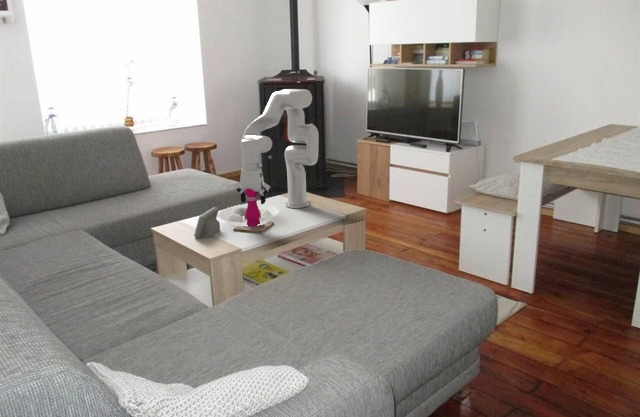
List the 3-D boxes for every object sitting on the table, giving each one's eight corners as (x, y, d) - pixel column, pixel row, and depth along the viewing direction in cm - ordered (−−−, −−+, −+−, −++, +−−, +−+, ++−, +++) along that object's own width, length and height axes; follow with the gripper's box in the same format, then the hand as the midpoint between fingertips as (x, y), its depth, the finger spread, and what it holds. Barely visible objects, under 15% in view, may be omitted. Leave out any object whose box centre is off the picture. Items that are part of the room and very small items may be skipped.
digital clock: (211, 227, 250) (209, 205, 247) (227, 229, 246) (225, 207, 243) (188, 237, 236) (186, 214, 233) (204, 240, 232) (202, 217, 229)
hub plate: (247, 221, 256) (247, 219, 256) (274, 224, 252) (273, 221, 251) (233, 230, 244) (233, 228, 243) (261, 233, 239) (261, 230, 239)
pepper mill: (242, 225, 246) (239, 183, 241) (251, 221, 252) (249, 180, 247) (255, 227, 243) (252, 185, 237) (264, 223, 249) (262, 181, 243)
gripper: (271, 165, 240) (274, 201, 245) (237, 163, 246) (240, 199, 251) (264, 169, 234) (267, 206, 239) (229, 167, 239) (232, 203, 244)
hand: (253, 202), depth 245 cm, fingers open, 9 cm apart
